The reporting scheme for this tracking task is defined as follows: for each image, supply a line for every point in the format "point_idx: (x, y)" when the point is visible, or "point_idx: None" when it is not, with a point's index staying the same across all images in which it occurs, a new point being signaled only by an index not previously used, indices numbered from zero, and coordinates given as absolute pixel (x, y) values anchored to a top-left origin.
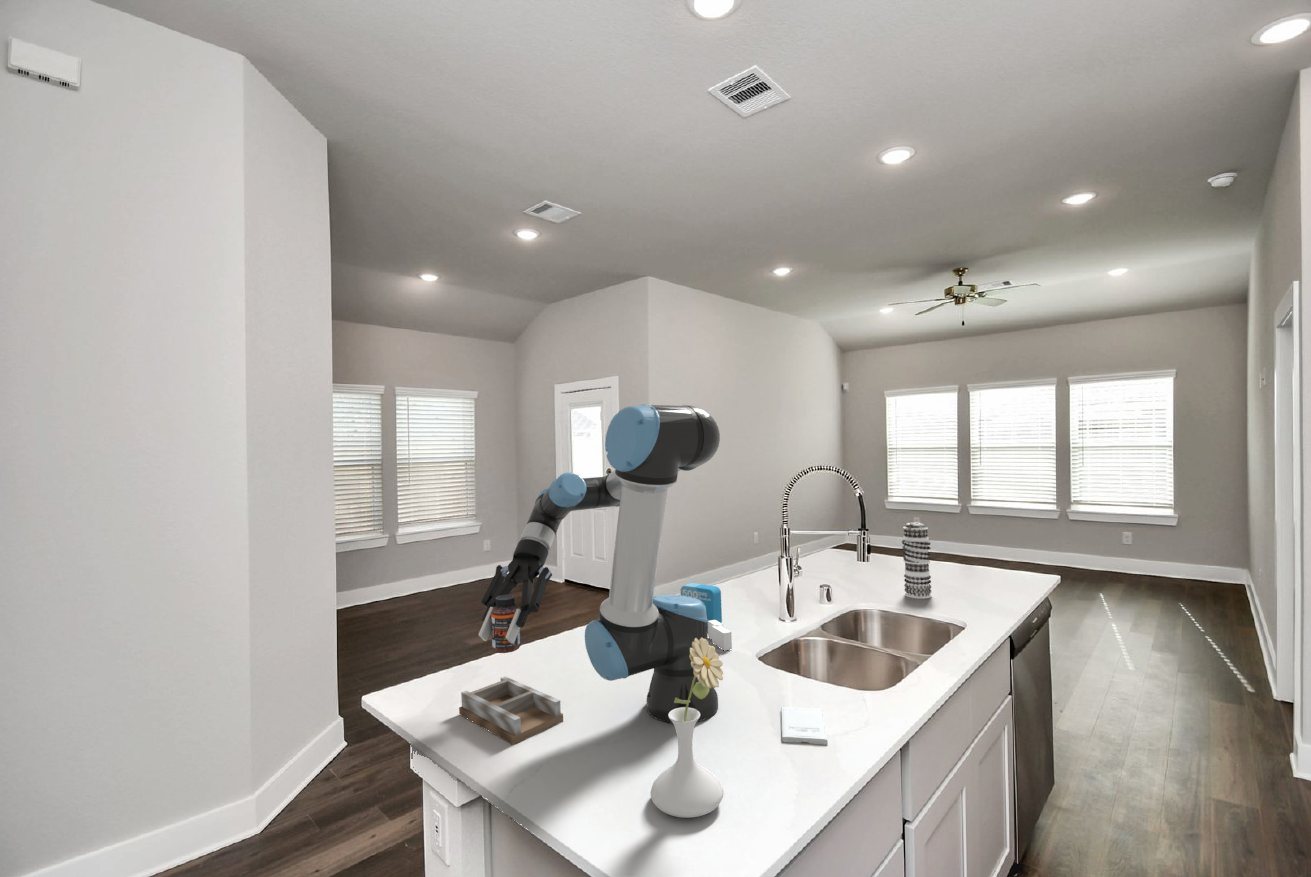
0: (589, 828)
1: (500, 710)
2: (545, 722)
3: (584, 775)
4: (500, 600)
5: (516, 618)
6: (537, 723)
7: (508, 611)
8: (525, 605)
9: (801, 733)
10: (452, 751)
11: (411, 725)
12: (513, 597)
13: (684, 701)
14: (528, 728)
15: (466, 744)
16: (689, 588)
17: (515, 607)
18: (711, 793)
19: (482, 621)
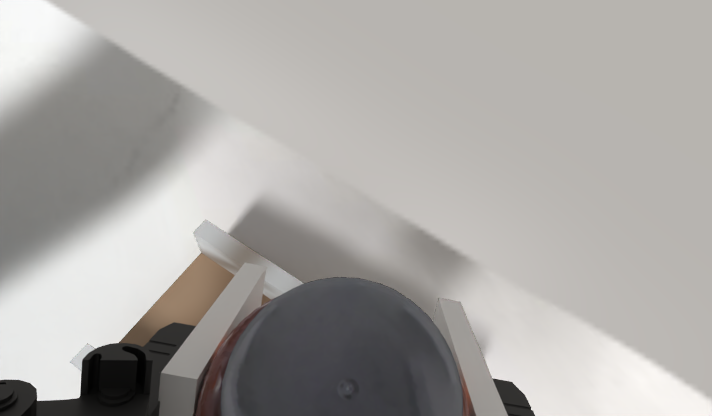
0: (18, 25)
1: (272, 271)
2: (139, 321)
3: (23, 141)
4: (351, 279)
5: (197, 328)
6: (163, 309)
7: (262, 306)
8: (82, 380)
9: None
10: (363, 209)
11: (555, 321)
12: (223, 389)
13: None
14: (185, 279)
15: (345, 239)
16: None
17: (216, 401)
18: None
19: (509, 385)
